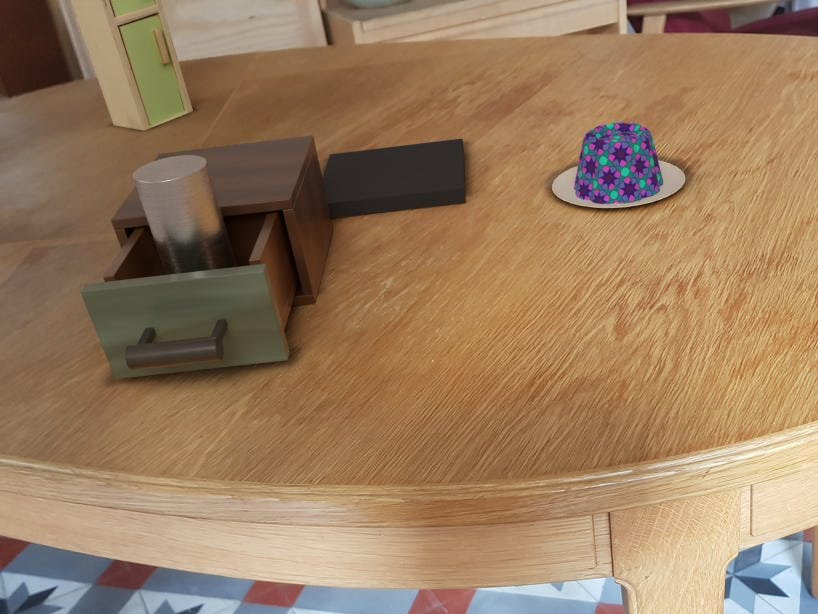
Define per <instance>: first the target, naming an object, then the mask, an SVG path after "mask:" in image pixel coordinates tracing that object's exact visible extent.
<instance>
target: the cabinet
mask: <svg viewBox="0 0 818 614" xmlns="http://www.w3.org/2000/svg"><path fill="white" fill-rule="evenodd" d="M182 155H195V156H200V157H203V158H205V159H206V161H207V164H208V168H209V171H210V175H211V178H212V182H213V185H214V189H215V192H216V196H217V199H218V203H219V206H220V210H221V213H222V217H226V216H234V215H243V214H251V213H260V212H268V211H277V210H283V215H284V219H285V223H286V227H287V231H288V235H289V239H290V243H291V247H292V251H293V255H294V259H295V263H296V267H297V271H298V275H299V281H298V285H297V288H296V292H295V295H294V299H293V302H292V305H291V307H294V306H295V307H296V306H304V305H314V304H316V302H317V299H318V294H319V290H320V286H321V281H322V278H323V273H324V270H325V266H326V261H327V258H328V254H329V249H330V246H331V241H332V237H333V233H334V225H333V221H332V218H331V215H330V211H329V206H328V202H327V197H326V192H325V188H324V183H323V174H322V169H321V164H320V160H319V156H318V151H317V147H316V141H315V137H314V135H313V134H312V135H304V136H295V137H289V138H288V137H287V138H279V139H270V140H262V141H254V142H246V143H238V144H229V145H222V146H213V147H204V148H196V149H189V150H188V149H187V150H180V151H170V152H162V153H158V154H157V155H156V157H155V158H154V160H153V161H156V160H160V159H164V158H168V157H173V156H182ZM110 222H111V224H112V228H113V230H114V234H115V235H116V239H117V241H118V243H119V247H120V250H121V249H122V247H123V246H124V244H125V243H126V241H127V240H128V238H129V237H130V235H131V234H132V232H133V231H134V229H135V228H136V227H140V226H149V223H148V220H147V217H146V215H145V212H144V209H143V206H142V203H141V200H140V197H139V194H138V191H137V188H136V185H135V186H134V187H133V188H132V190H131V191H130V193H129V194H128V195H127V197H126V198H125V199H124V201H123V202H122V204H121V205H120V206H119V207H118V209H117V210H116V212H115V213H114V215H113V216H112V217H111V219H110Z"/></svg>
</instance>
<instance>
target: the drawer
mask: <svg viewBox="0 0 818 614" xmlns="http://www.w3.org/2000/svg"><path fill="white" fill-rule="evenodd" d="M223 220H224V223H225V227H226V230H227V234H228V237H229V241H230V244H231V248H232V251H233V255H234V258H235V262H236V265H237V267H232V268H224V269H215V270H206V271H197V272H189V273H180V274H171V275H166V273H165V270H164V267H163V265H162V262H161V259H160V256H159V253H158V250H157V247H156V244H155V241H154V238H153V235H152V232H151V229H150V226H140V227H136V228H135V229H134V231H133V232H132V234H131V235H130V237H129V238H128V240H127V241H126V243H125V244H124V246H123V247H122V249H121V248H120V250H119V251H118V254H116V256H115V258H114V259H113V261H112V263H111V264H110V265H109V267H108V269H107V270H106V272H105V273H104V274H103V276H102V279H103V281H102V282H101V281H100V282H93V283H86V284H84V285H83V287H82V289H81V290H80V295H81V298H82V300H83V303H84V305H85V307H86V310H87V312H88V315H89V318H90V321H91V322H92V325H93V327H94V330H95V333H96V334H97V337H98V340H99V342H100V345H101V347H102V349H103V352H104V354H105V357H106V359H107V362H108V364H109V367H110V370H111V372H112V374H113V377H114V379H115V380H119V379H128V378H136V377H146V376H155V375H165V374H173V373H174V374H175V373H183V372H191V371H200V370H210V369H219V368H227V367H228V368H229V367H237V366H246V365H255V364H265V363H275V362H283V361H288V360H289V356H290V352H291V350H290V348H289V343H288V340H287V336H286V333H285V330H286V326H287V323H288V319H289V315H290V312H291V309H292V306H291V305H292V302H293V299H294V295H295V292H296V288H297V285H298V281H299V275H298V271H297V267H296V263H295V259H294V255H293V251H292V247H291V243H290V239H289V235H288V231H287V227H286V223H285V219H284V215H283V210H277V211H268V212H260V213H251V214H243V215H234V216H226V217H223Z"/></svg>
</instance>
